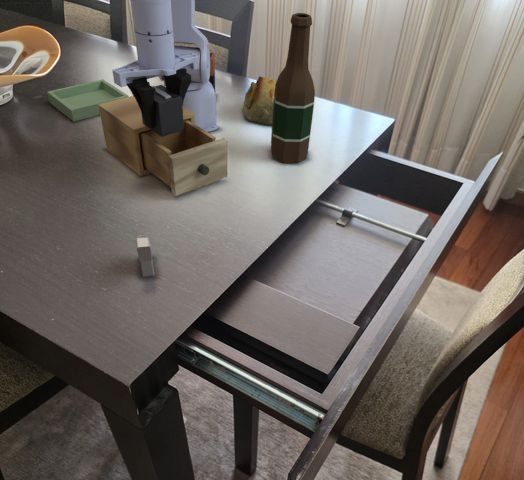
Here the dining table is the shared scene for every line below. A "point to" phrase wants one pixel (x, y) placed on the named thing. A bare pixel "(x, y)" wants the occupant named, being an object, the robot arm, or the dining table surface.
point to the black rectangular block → (167, 112)
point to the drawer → (184, 157)
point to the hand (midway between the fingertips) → (162, 122)
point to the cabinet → (127, 130)
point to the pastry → (260, 101)
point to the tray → (84, 99)
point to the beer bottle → (294, 97)
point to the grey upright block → (145, 255)
